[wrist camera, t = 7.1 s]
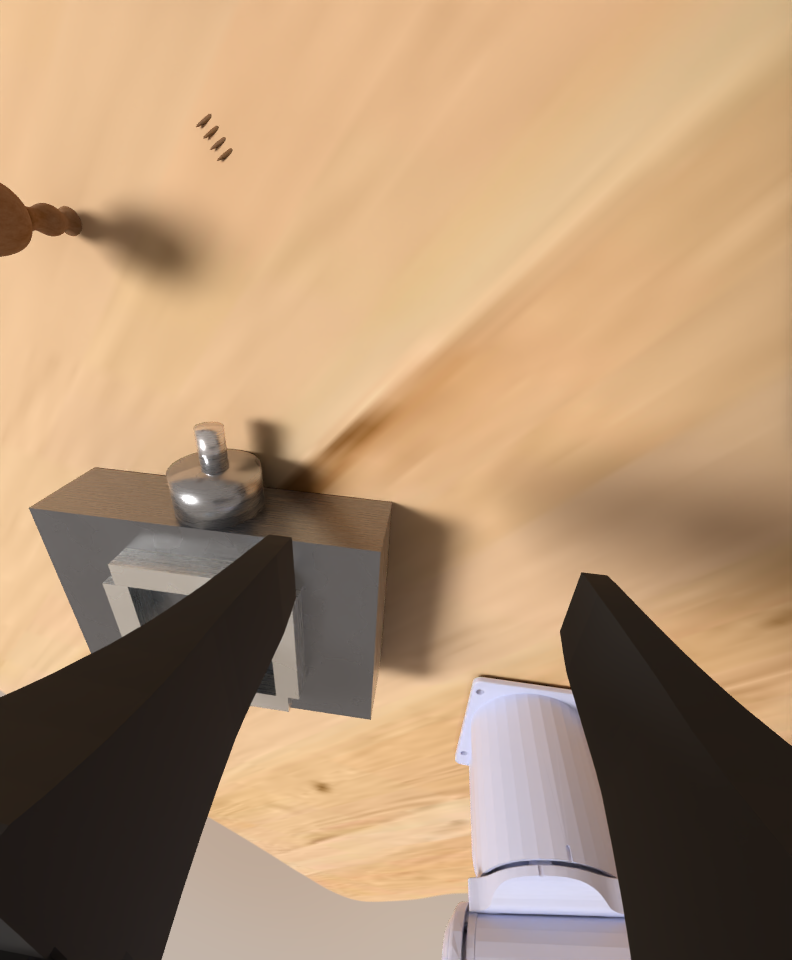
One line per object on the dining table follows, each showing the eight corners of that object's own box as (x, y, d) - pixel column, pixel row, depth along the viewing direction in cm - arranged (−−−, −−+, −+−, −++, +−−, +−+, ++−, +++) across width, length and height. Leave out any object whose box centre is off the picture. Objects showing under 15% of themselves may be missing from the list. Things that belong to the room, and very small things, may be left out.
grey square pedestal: (380, 659, 27) (366, 741, 23) (144, 625, 28) (86, 697, 24) (397, 428, 19) (380, 483, 15) (71, 394, 20) (-37, 436, 16)
